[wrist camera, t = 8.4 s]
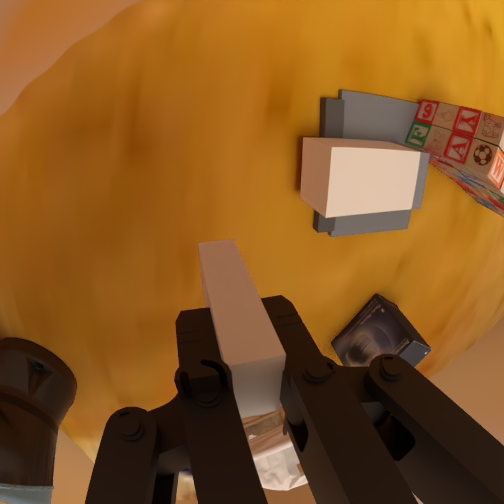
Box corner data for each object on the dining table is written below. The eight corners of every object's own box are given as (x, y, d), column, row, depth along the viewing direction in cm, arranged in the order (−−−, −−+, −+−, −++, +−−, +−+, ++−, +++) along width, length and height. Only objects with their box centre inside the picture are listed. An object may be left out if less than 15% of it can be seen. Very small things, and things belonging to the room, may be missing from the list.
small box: (374, 290, 40) (415, 340, 31) (396, 304, 43) (434, 348, 34) (328, 343, 43) (357, 396, 34) (353, 351, 46) (382, 398, 37)
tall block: (325, 217, 25) (420, 208, 28) (331, 146, 22) (429, 153, 25) (300, 198, 29) (391, 192, 32) (303, 137, 26) (397, 142, 29)
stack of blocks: (491, 170, 35) (550, 200, 24) (478, 203, 37) (535, 238, 27) (420, 97, 27) (509, 117, 16) (403, 143, 29) (489, 177, 18)
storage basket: (195, 389, 42) (208, 475, 30) (288, 342, 41) (327, 429, 28) (264, 433, 55) (282, 493, 42) (333, 400, 53) (362, 459, 41)
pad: (312, 236, 33) (316, 241, 32) (320, 88, 25) (326, 88, 24) (404, 226, 35) (409, 230, 34) (421, 104, 28) (428, 105, 27)
